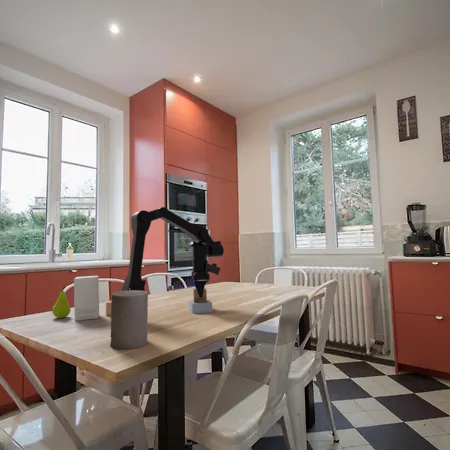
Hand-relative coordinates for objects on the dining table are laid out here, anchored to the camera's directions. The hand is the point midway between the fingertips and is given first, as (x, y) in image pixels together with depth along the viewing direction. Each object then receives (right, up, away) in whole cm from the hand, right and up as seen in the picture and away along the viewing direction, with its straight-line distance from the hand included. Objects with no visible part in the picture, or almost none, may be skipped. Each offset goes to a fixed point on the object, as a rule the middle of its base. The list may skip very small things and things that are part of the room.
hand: (200, 295), depth 125 cm
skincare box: (-42, -6, -10) cm, 44 cm away
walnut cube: (0, -2, 0) cm, 2 cm away
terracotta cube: (-35, -7, -3) cm, 36 cm away
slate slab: (0, -6, 0) cm, 6 cm away
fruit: (-52, -7, -9) cm, 53 cm away
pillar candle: (-16, -3, -42) cm, 45 cm away
